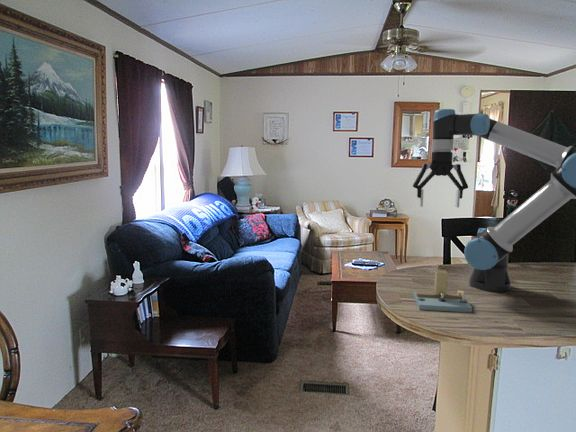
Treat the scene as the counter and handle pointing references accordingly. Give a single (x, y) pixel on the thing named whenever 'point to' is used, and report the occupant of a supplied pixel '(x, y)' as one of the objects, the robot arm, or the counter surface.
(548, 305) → the counter surface
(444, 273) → the block
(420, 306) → the board
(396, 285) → the counter surface
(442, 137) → the robot arm
